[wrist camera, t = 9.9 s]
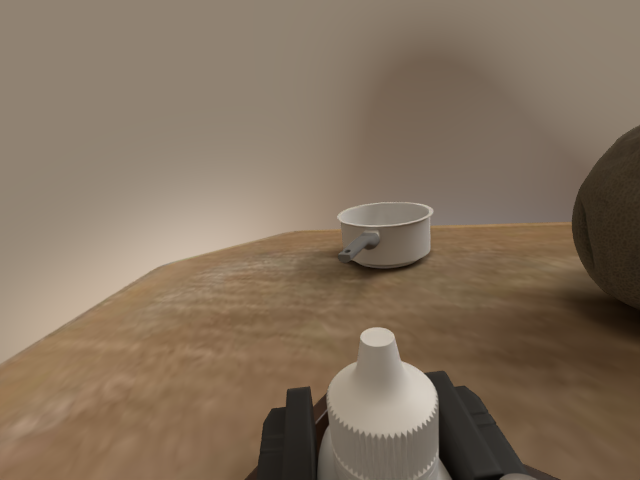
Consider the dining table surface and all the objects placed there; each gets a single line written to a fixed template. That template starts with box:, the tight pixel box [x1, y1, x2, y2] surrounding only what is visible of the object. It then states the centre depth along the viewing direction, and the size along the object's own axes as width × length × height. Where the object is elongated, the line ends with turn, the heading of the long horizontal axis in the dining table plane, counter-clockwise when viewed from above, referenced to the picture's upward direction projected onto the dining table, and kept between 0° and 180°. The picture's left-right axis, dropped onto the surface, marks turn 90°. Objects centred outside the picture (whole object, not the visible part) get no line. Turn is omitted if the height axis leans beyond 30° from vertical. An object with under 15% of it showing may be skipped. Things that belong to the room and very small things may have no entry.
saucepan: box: [337, 202, 433, 268], centre depth 41 cm, size 12×20×6 cm, turn 156°
